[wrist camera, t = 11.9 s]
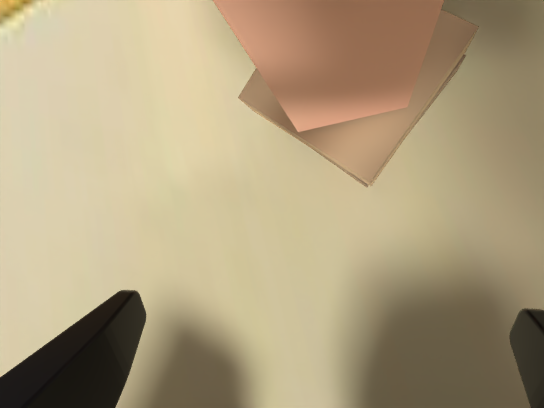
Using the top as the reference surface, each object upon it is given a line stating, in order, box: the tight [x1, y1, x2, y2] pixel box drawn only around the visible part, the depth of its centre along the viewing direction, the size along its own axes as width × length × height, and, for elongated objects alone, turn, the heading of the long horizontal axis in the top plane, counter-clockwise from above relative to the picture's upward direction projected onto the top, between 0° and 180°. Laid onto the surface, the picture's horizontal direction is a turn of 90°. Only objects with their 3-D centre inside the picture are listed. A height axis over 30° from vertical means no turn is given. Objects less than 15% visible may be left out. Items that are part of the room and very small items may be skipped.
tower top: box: [238, 9, 479, 186], centre depth 18 cm, size 8×8×2 cm
